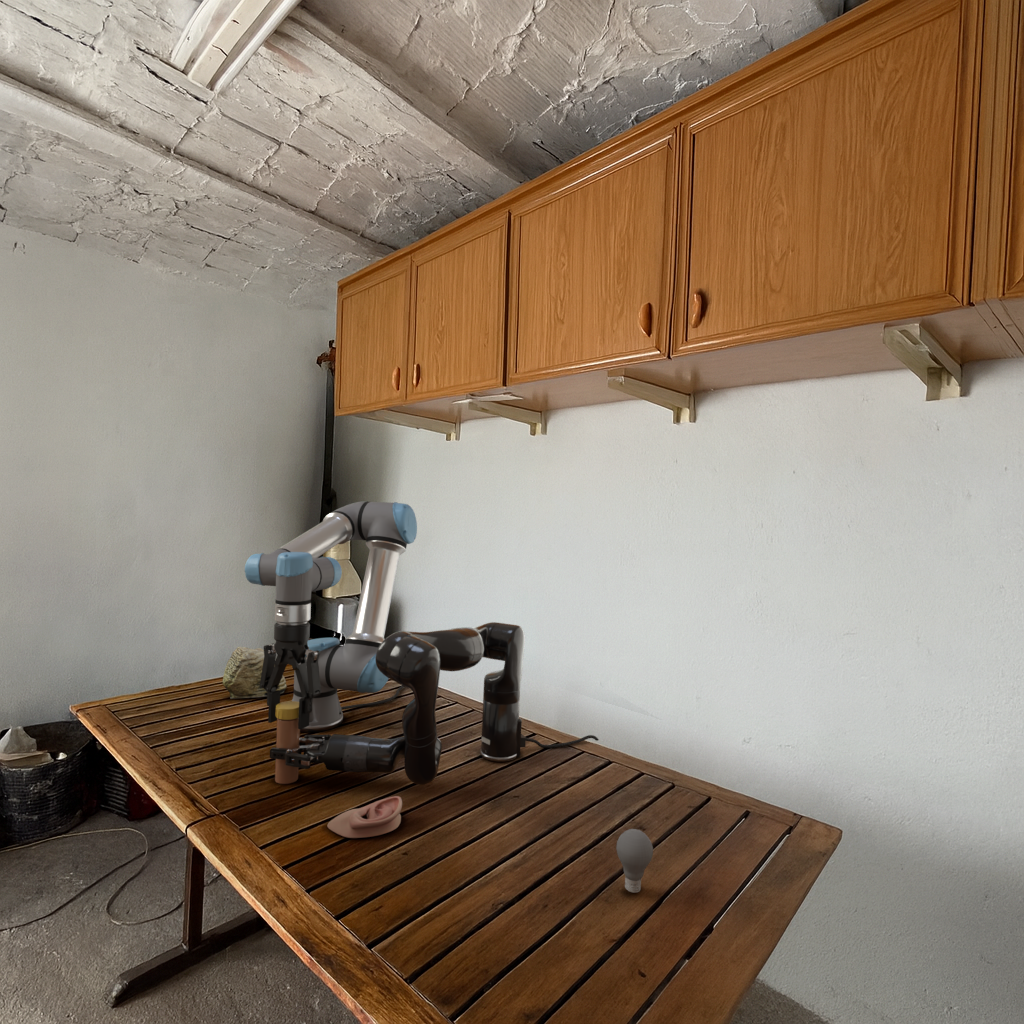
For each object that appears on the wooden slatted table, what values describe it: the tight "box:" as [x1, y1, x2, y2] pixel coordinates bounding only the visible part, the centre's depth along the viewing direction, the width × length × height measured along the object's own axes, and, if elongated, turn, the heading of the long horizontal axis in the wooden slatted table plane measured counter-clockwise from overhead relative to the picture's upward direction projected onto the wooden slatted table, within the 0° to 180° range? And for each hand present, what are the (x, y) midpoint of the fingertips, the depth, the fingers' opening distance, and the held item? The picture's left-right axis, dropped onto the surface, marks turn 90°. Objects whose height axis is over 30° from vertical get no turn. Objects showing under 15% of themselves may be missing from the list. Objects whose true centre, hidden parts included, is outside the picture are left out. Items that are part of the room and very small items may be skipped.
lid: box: [275, 700, 299, 720], centre depth 141 cm, size 6×6×2 cm
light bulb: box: [615, 828, 654, 894], centre depth 106 cm, size 6×6×10 cm
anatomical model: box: [327, 795, 403, 839], centre depth 123 cm, size 13×4×12 cm
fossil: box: [222, 646, 288, 699], centre depth 198 cm, size 9×18×15 cm, turn 132°
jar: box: [274, 718, 301, 785], centre depth 141 cm, size 5×5×16 cm
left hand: (288, 723), depth 141 cm, fingers open, 8 cm apart
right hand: (276, 748), depth 141 cm, fingers closed on jar, 5 cm apart
